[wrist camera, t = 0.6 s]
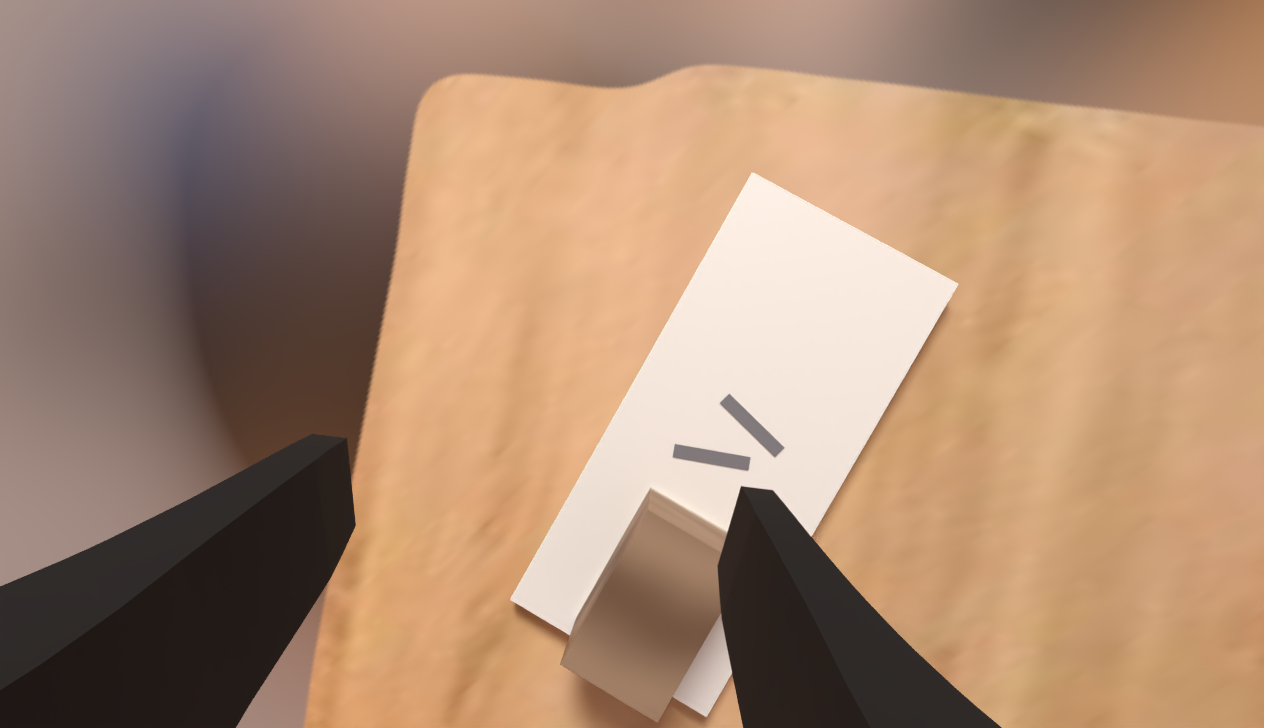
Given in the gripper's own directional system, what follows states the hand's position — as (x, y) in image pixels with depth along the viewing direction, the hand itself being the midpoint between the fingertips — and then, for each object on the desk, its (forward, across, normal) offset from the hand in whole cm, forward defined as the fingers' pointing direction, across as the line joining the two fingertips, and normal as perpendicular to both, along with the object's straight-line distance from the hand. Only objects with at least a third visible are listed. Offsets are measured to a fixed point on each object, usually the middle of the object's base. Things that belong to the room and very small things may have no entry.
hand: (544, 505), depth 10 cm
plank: (+17, -8, +9) cm, 21 cm away
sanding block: (+13, -5, +15) cm, 21 cm away
